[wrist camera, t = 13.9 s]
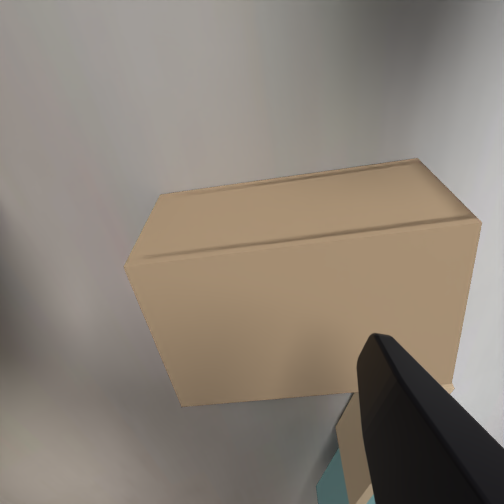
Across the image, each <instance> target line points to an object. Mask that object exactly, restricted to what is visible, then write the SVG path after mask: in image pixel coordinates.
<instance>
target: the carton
mask: <svg viewBox="0 0 504 504" xmlns="http://www.w3.org/2000/svg"><path fill="white" fill-rule="evenodd" d="M481 225H482V222H481V221H480V220H479V219H478V218H477V217H476V216H475V215H474V214H473V213H472V212H471V211H470V210H469V209H468V208H467V207H466V206H465V205H464V204H463V203H462V202H461V201H460V200H459V199H458V198H457V197H456V196H455V195H454V194H453V193H452V192H451V191H450V190H449V189H448V188H447V187H446V186H445V185H444V184H443V183H442V182H441V181H440V180H439V179H438V178H437V177H436V176H435V175H434V174H433V173H432V172H431V171H430V170H429V169H428V168H427V167H426V166H425V165H424V164H423V163H422V162H421V161H420V160H419V159H418V158H415V159H408V160H401V161H394V162H387V163H380V164H373V165H366V166H359V167H352V168H345V169H338V170H331V171H324V172H317V173H309V174H302V175H295V176H288V177H281V178H274V179H267V180H260V181H253V182H246V183H239V184H232V185H225V186H218V187H211V188H204V189H197V190H190V191H182V192H175V193H168V194H161V195H160V196H159V198H158V200H157V202H156V204H155V206H154V208H153V210H152V212H151V214H150V216H149V218H148V220H147V222H146V224H145V226H144V228H143V230H142V232H141V234H140V236H139V238H138V240H137V242H136V243H135V245H134V247H133V249H132V251H131V253H130V255H129V257H128V259H127V261H126V263H125V265H124V269H125V272H126V274H127V277H128V279H129V281H130V284H131V286H132V289H133V291H134V293H135V296H136V298H137V301H138V303H139V306H140V308H141V310H142V313H143V315H144V318H145V320H146V322H147V325H148V327H149V330H150V332H151V334H152V337H153V339H154V342H155V344H156V347H157V349H158V351H159V354H160V356H161V359H162V361H163V363H164V366H165V368H166V371H167V373H168V376H169V378H170V380H171V383H172V385H173V388H174V390H175V392H176V395H177V397H178V400H179V402H180V404H181V407H188V406H199V405H211V404H223V403H234V402H246V401H258V400H270V399H281V398H293V397H305V396H316V395H328V394H340V393H351V392H358V381H357V369H356V366H357V360H358V357H359V355H360V353H361V351H362V349H363V347H364V345H365V343H366V341H367V339H368V337H369V336H370V335H371V334H372V333H380V334H386V335H390V336H392V337H393V338H394V339H395V340H396V341H397V342H398V343H399V344H400V345H401V346H402V347H403V348H404V349H405V350H406V351H407V352H408V353H409V354H410V355H411V356H412V357H413V358H414V359H415V360H416V361H417V362H418V363H419V364H420V365H421V366H422V367H423V368H424V369H425V370H426V371H427V372H428V373H429V374H430V375H431V376H432V377H433V378H434V379H435V380H436V381H437V382H438V383H439V384H440V385H445V384H452V379H453V373H454V368H455V363H456V358H457V352H458V347H459V342H460V336H461V331H462V326H463V321H464V315H465V310H466V305H467V299H468V294H469V289H470V283H471V278H472V273H473V268H474V262H475V257H476V252H477V246H478V241H479V236H480V231H481Z"/></svg>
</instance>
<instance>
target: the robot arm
mask: <svg viewBox="0 0 504 504" xmlns="http://www.w3.org/2000/svg"><path fill="white" fill-rule="evenodd" d="M356 369H357V381H358V393H359V404H360V416H361V427H362V436H363V442H364V448H365V453H366V458H367V463H368V468H369V473H370V478H371V484H372V489H373V494H374V499H375V504H504V448H503V447H502V446H501V445H500V444H499V443H498V442H497V441H496V440H495V439H494V438H493V437H492V436H491V435H490V434H489V433H488V432H487V431H486V430H485V429H484V428H483V427H482V426H481V425H480V424H479V423H478V422H477V421H476V420H475V419H474V418H473V417H472V416H471V415H470V414H469V413H468V412H467V411H466V410H465V409H464V408H463V407H462V406H461V405H460V404H459V403H458V402H457V401H456V400H455V399H454V398H453V397H452V396H451V395H450V394H449V393H448V392H447V391H446V390H445V389H444V388H443V387H442V386H441V385H440V384H439V383H438V382H437V381H436V380H435V379H434V378H433V377H432V376H431V375H430V374H429V373H428V372H427V371H426V370H425V369H424V368H423V367H422V366H421V365H420V364H419V363H418V362H417V361H416V360H415V359H414V358H413V357H412V356H411V355H410V354H409V353H408V352H407V351H406V350H405V349H404V348H403V347H402V346H401V345H400V344H399V343H398V342H397V341H396V340H395V339H394V338H393V337H392V336H390V335H386V334H380V333H372V334H371V335H370V336H369V337H368V339H367V341H366V343H365V345H364V347H363V349H362V351H361V353H360V355H359V357H358V360H357V366H356Z"/></svg>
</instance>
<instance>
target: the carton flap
mask: <svg viewBox="0 0 504 504" xmlns="http://www.w3.org/2000/svg"><path fill="white" fill-rule="evenodd" d="M441 386H442V387H443V388H444V389H445V390H446V391H447V392H448V393H449V394H451V392H452V391H453V390H454V389H455V388H454V386H453V384H445V385H441ZM335 428H336V433H337V439H338V444H339V448H338V450H337V452H336V453H335V455H334V457H333V458H332V460H331V462H330V463H329V465H328V467H327V469H326V470H325V472H324V474H323V475H322V477H321V479H320V480H319V482H318V484H317V486H316V490H317V498H318V504H375V499H374V494H373V489H372V484H371V478H370V473H369V468H368V463H367V458H366V453H365V448H364V442H363V436H362V427H361V416H360V404H359V393H358V392H355V393H354V394H353V396H352V398H351V400H350V402H349V404H348V405H347V407H346V409H345V411H344V413H343V414H342V416H341V418H340V420H339V422H338V424H337V425H336V427H335Z"/></svg>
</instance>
